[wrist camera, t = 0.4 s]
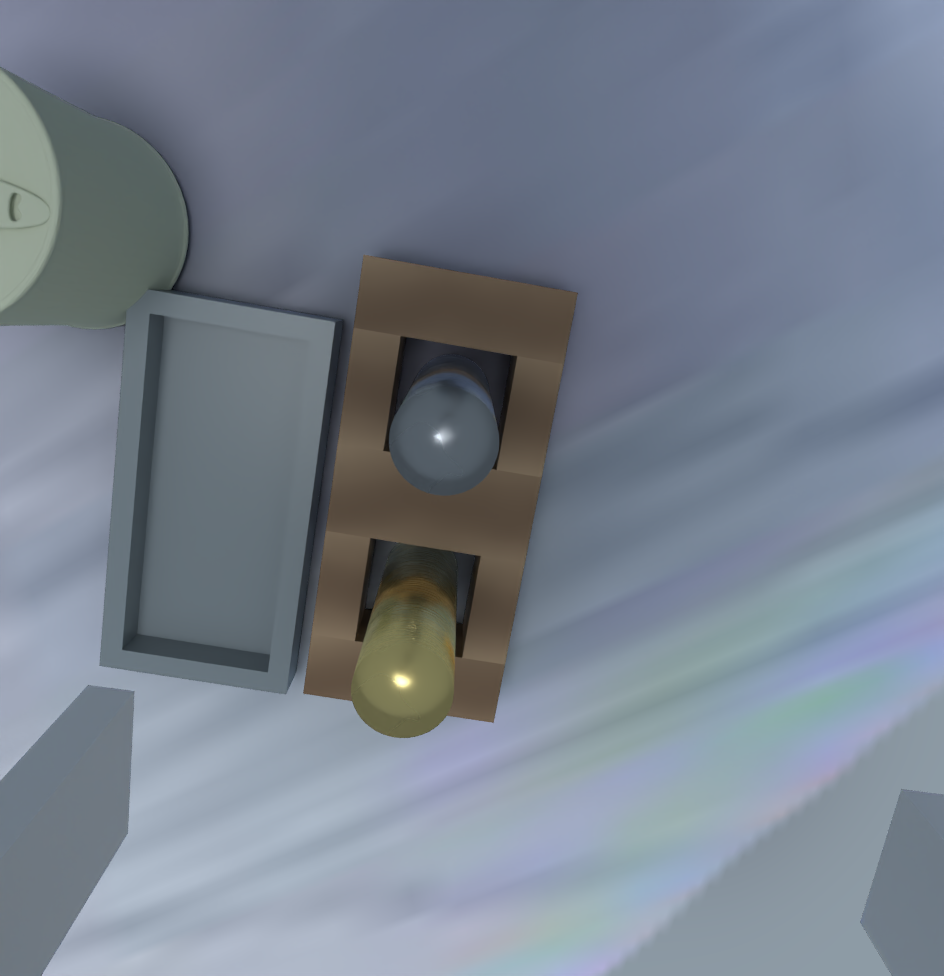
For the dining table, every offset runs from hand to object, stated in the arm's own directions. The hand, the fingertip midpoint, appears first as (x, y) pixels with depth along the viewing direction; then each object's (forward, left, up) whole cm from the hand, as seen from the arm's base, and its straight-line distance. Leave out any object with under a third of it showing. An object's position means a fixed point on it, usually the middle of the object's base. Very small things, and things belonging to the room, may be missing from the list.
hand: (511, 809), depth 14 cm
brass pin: (+6, -2, -28) cm, 28 cm away
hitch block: (+1, -2, -27) cm, 28 cm away
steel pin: (-3, -2, -28) cm, 28 cm away
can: (-8, -20, -28) cm, 35 cm away
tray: (+3, -12, -27) cm, 30 cm away
